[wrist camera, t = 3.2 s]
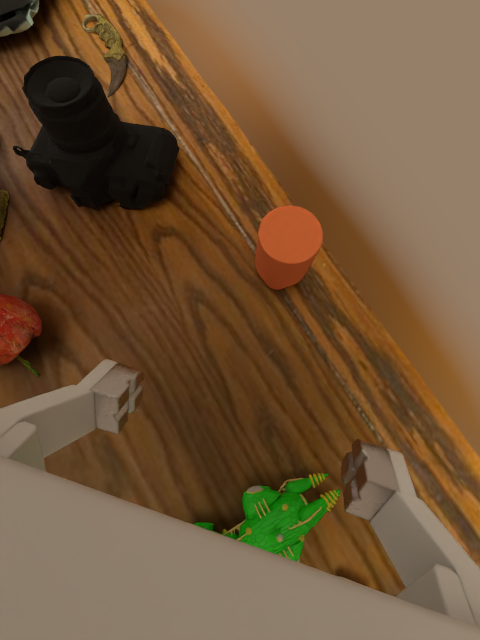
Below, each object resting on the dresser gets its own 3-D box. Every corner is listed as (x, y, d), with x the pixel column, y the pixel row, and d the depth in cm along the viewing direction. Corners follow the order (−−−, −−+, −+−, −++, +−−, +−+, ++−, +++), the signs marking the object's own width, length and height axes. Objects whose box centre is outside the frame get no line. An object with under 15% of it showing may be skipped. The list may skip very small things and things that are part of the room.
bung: (245, 268, 30) (246, 222, 22) (284, 247, 31) (301, 195, 22) (268, 307, 29) (279, 274, 21) (309, 285, 30) (335, 245, 21)
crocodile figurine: (124, 559, 24) (100, 595, 20) (308, 442, 26) (321, 453, 22) (160, 644, 23) (142, 702, 18) (350, 515, 25) (372, 540, 21)
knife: (99, 109, 36) (137, 96, 35) (94, 102, 35) (133, 89, 35) (82, 22, 39) (117, 10, 38) (78, 14, 38) (114, 1, 38)
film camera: (166, 67, 24) (138, 151, 22) (184, 159, 34) (165, 226, 31) (-10, 39, 25) (-57, 119, 22) (56, 139, 34) (28, 203, 31)
